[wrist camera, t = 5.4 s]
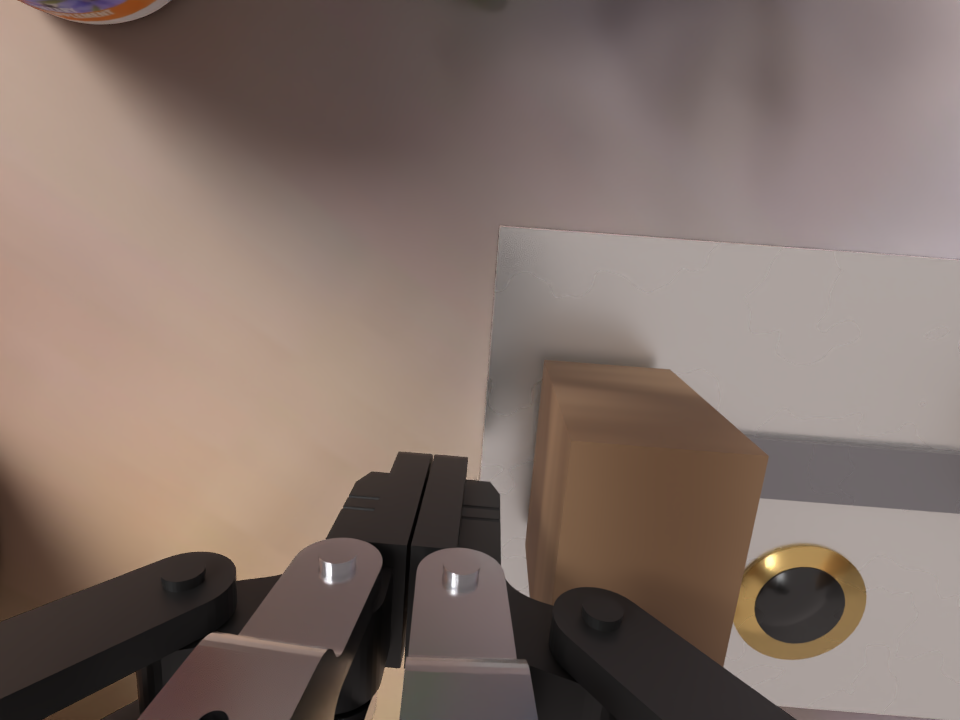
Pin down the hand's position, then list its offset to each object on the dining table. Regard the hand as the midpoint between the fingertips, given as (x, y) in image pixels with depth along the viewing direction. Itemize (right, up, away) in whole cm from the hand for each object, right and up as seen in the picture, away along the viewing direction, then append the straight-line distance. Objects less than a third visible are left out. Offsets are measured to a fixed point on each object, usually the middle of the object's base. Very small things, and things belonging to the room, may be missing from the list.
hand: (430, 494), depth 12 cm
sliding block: (+4, -1, +2) cm, 5 cm away
